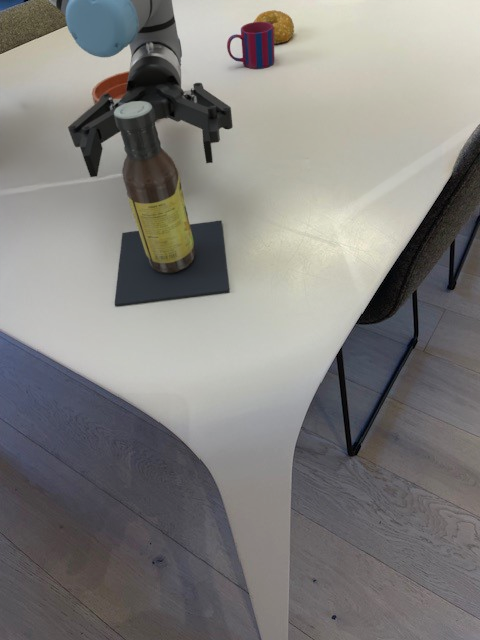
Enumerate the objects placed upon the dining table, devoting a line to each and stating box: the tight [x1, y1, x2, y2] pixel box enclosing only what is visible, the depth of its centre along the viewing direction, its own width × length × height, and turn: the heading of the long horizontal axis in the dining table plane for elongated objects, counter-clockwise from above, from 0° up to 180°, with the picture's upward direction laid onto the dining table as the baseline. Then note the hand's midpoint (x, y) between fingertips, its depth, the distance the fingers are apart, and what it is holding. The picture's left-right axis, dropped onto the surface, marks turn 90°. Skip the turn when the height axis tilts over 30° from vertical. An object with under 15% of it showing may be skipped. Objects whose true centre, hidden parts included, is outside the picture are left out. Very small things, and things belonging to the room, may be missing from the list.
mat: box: [114, 220, 230, 307], centre depth 64 cm, size 14×14×1 cm
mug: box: [226, 21, 275, 70], centre depth 103 cm, size 7×10×7 cm
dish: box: [91, 70, 129, 105], centre depth 94 cm, size 15×15×4 cm
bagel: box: [253, 9, 295, 45], centre depth 112 cm, size 10×11×5 cm
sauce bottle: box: [114, 101, 195, 273], centre depth 57 cm, size 6×6×20 cm
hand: (148, 159), depth 56 cm, fingers open, 13 cm apart
